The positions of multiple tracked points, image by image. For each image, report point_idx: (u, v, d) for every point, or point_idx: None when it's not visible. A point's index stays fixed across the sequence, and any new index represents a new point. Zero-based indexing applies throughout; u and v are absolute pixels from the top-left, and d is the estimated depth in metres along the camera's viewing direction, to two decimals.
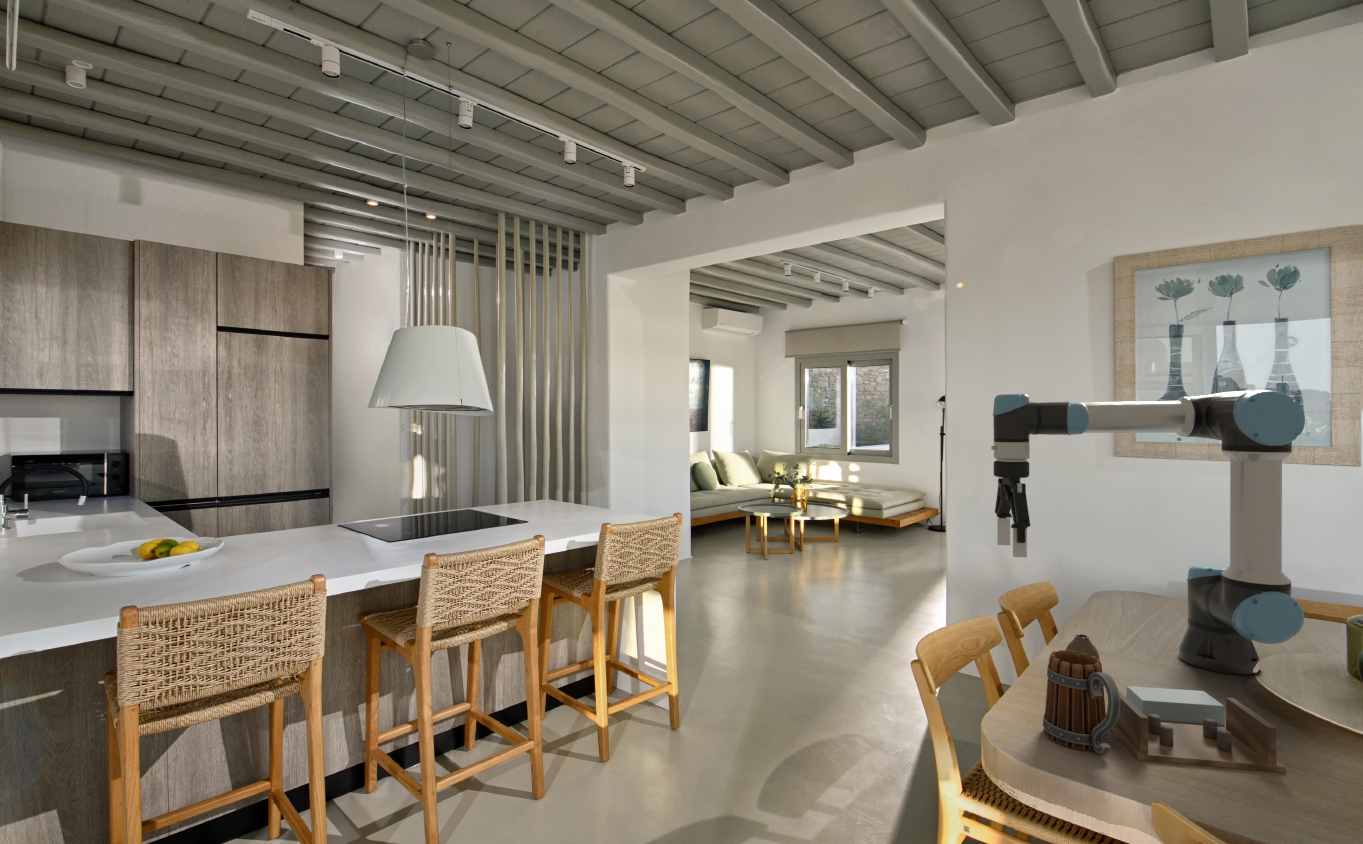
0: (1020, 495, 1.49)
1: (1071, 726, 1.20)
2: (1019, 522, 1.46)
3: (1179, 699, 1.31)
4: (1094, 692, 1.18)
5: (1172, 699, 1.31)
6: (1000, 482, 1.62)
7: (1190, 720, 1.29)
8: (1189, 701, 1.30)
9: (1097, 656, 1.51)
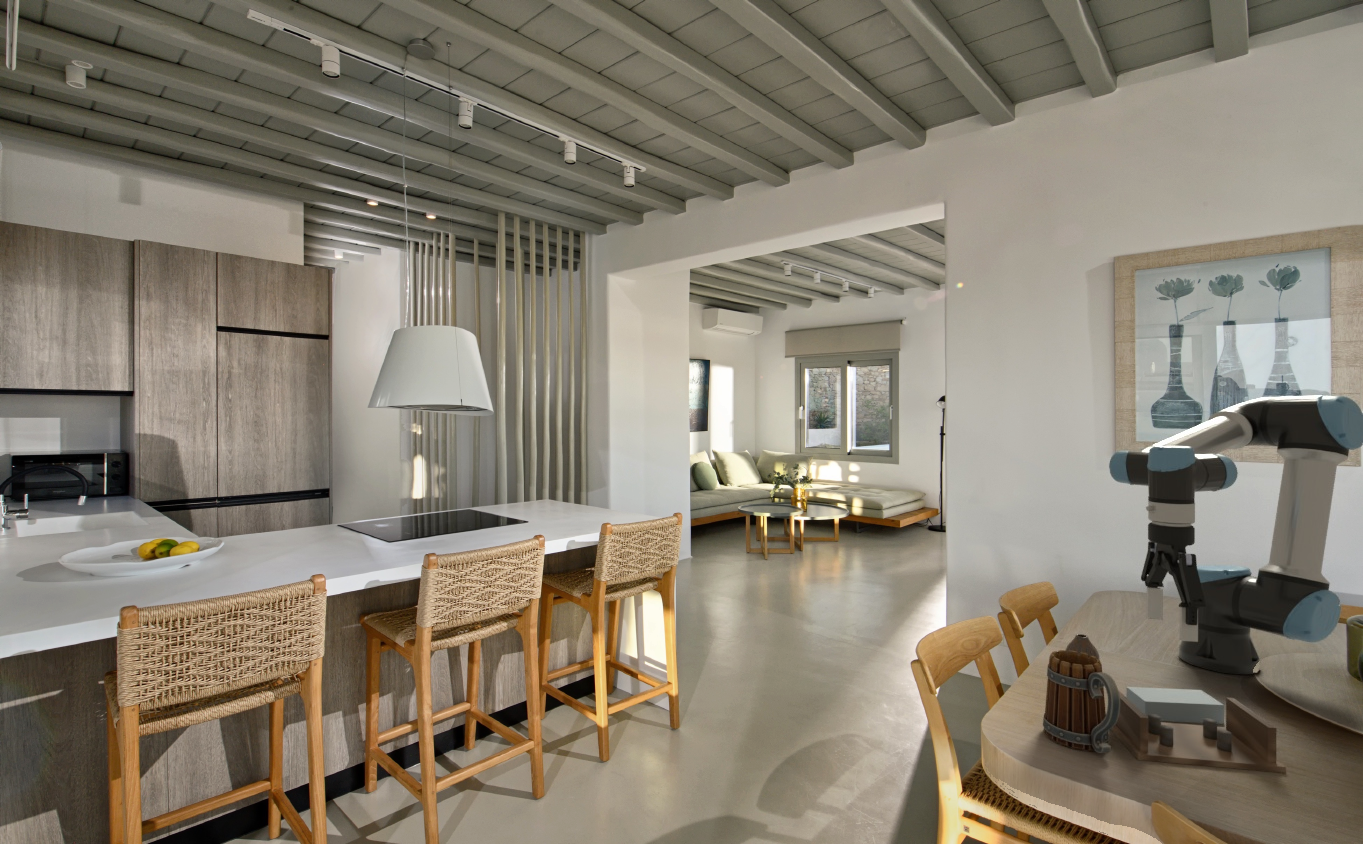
0: (1190, 568, 1.26)
1: (1071, 726, 1.20)
2: (1192, 602, 1.23)
3: (1179, 699, 1.31)
4: (1094, 692, 1.18)
5: (1173, 699, 1.31)
6: (1152, 546, 1.39)
7: (1191, 720, 1.29)
8: (1190, 700, 1.30)
9: (1097, 656, 1.51)
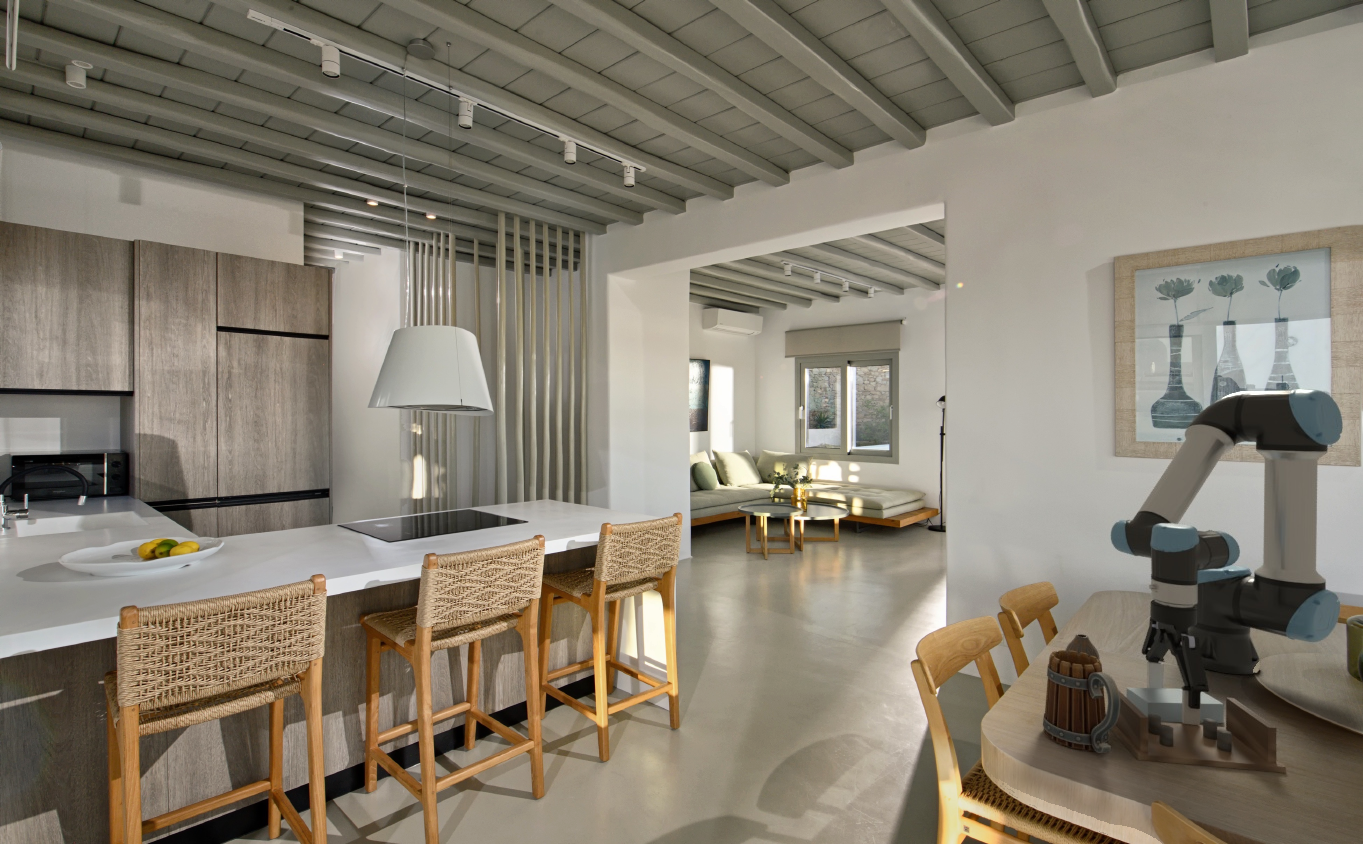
0: (1193, 651, 1.26)
1: (1071, 726, 1.20)
2: (1195, 686, 1.23)
3: (1180, 699, 1.31)
4: (1094, 692, 1.18)
5: (1174, 699, 1.31)
6: (1153, 622, 1.38)
7: None
8: None
9: (1097, 656, 1.51)
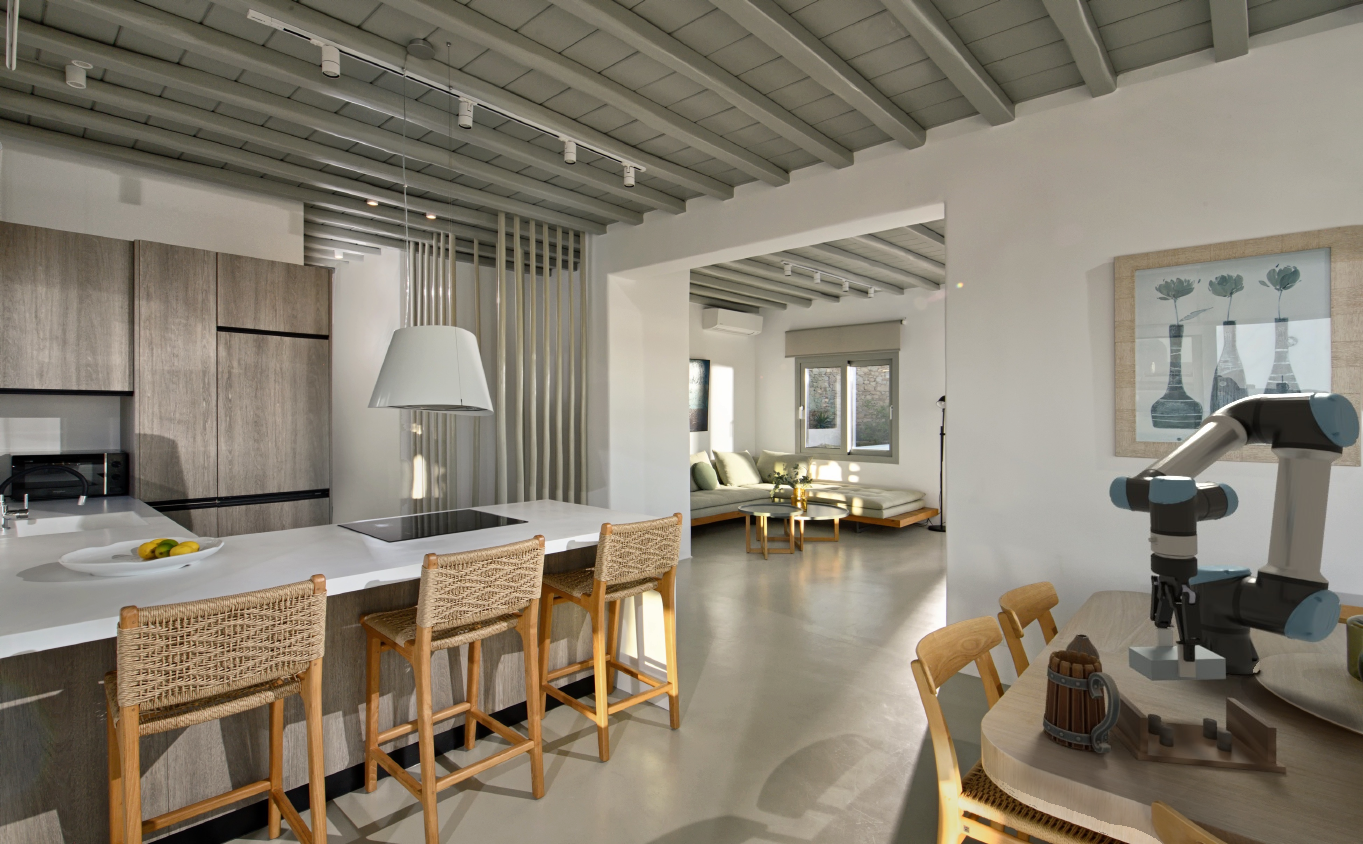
0: (1192, 607, 1.26)
1: (1071, 726, 1.20)
2: (1189, 640, 1.26)
3: None
4: (1094, 692, 1.17)
5: (1176, 656, 1.31)
6: (1155, 580, 1.38)
7: None
8: None
9: (1097, 656, 1.51)
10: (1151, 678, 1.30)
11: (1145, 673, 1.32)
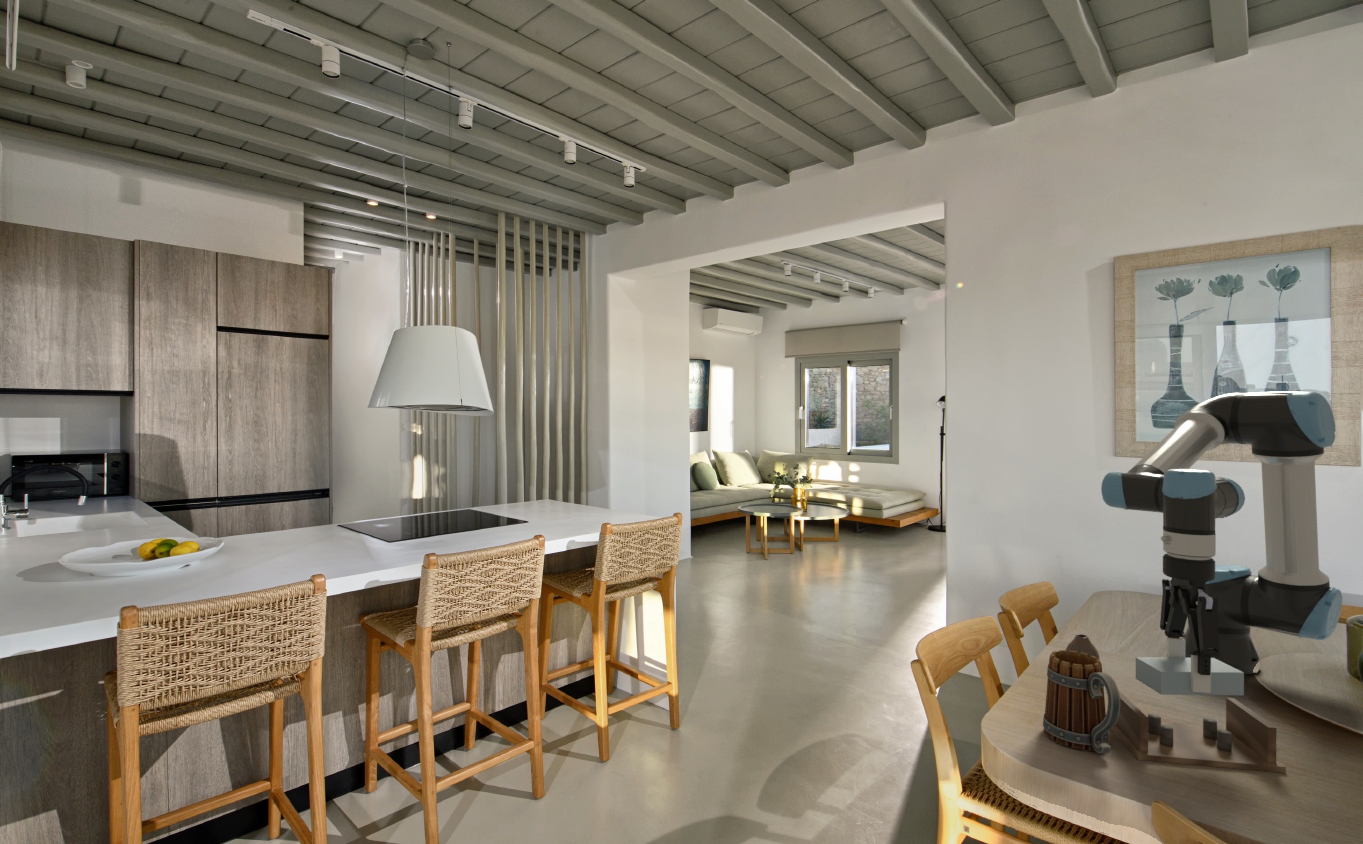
0: (1209, 613, 1.13)
1: (1071, 726, 1.20)
2: (1205, 650, 1.13)
3: None
4: (1094, 692, 1.18)
5: (1189, 668, 1.18)
6: (1166, 584, 1.25)
7: None
8: None
9: (1097, 656, 1.51)
10: (1160, 692, 1.17)
11: (1154, 686, 1.18)
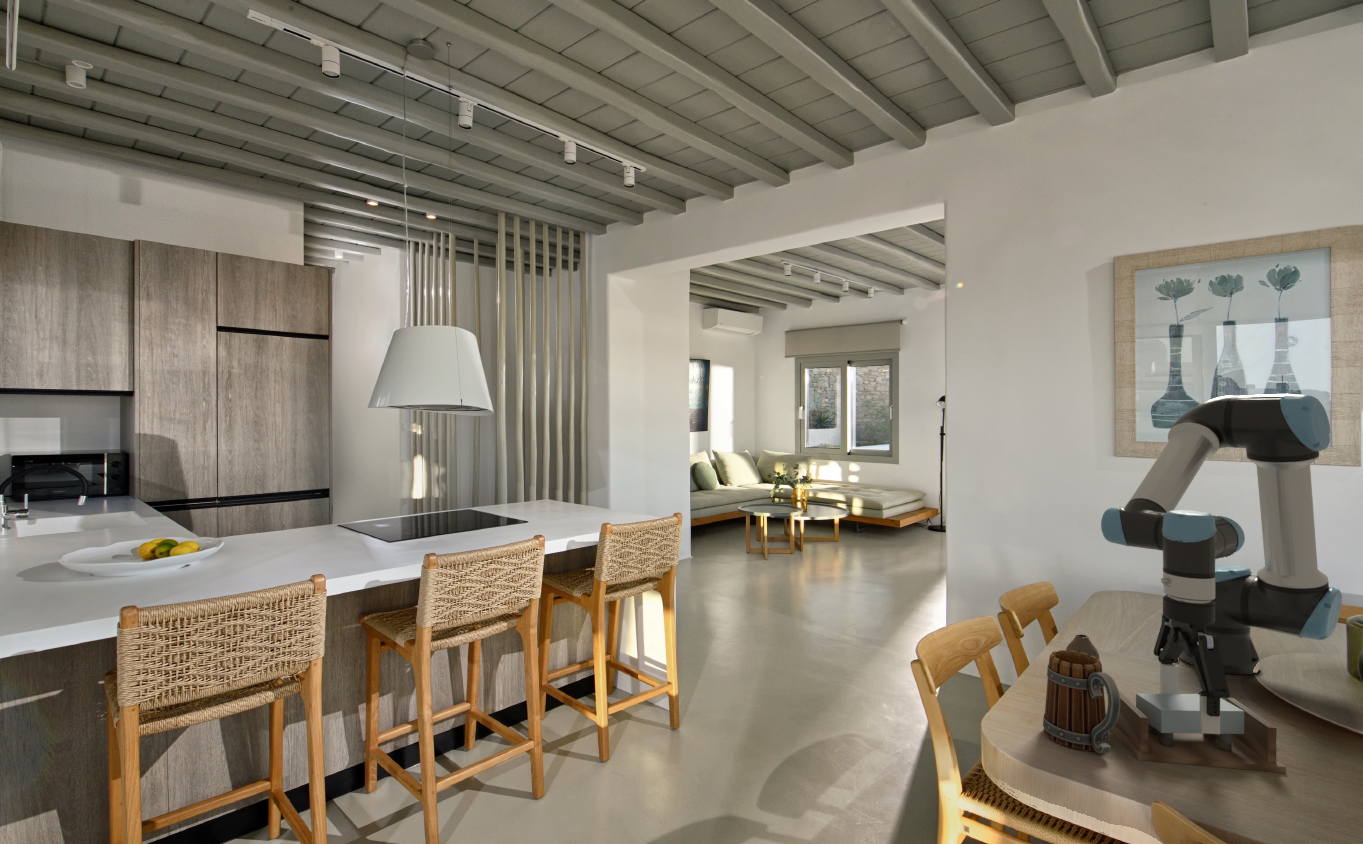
0: (1211, 652, 1.13)
1: (1071, 726, 1.20)
2: (1214, 692, 1.10)
3: (1196, 706, 1.18)
4: (1094, 692, 1.18)
5: (1189, 706, 1.18)
6: (1166, 620, 1.26)
7: None
8: None
9: (1097, 656, 1.51)
10: (1161, 730, 1.17)
11: (1154, 724, 1.19)
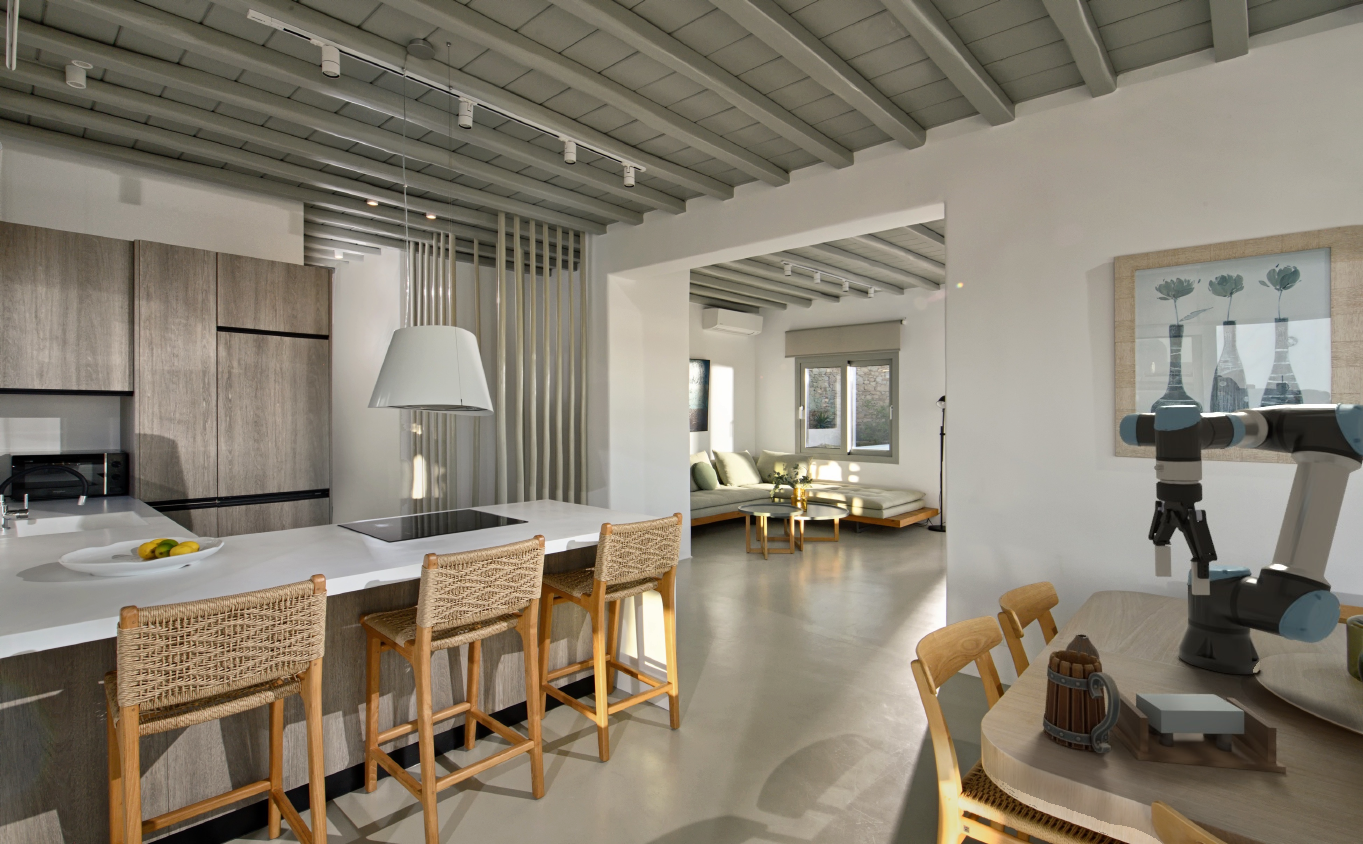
0: (1200, 523, 1.28)
1: (1071, 726, 1.20)
2: (1204, 556, 1.26)
3: (1196, 706, 1.18)
4: (1094, 692, 1.17)
5: (1189, 706, 1.18)
6: (1159, 505, 1.41)
7: (1210, 729, 1.16)
8: (1207, 707, 1.18)
9: (1097, 656, 1.51)
10: (1161, 730, 1.17)
11: (1154, 724, 1.19)
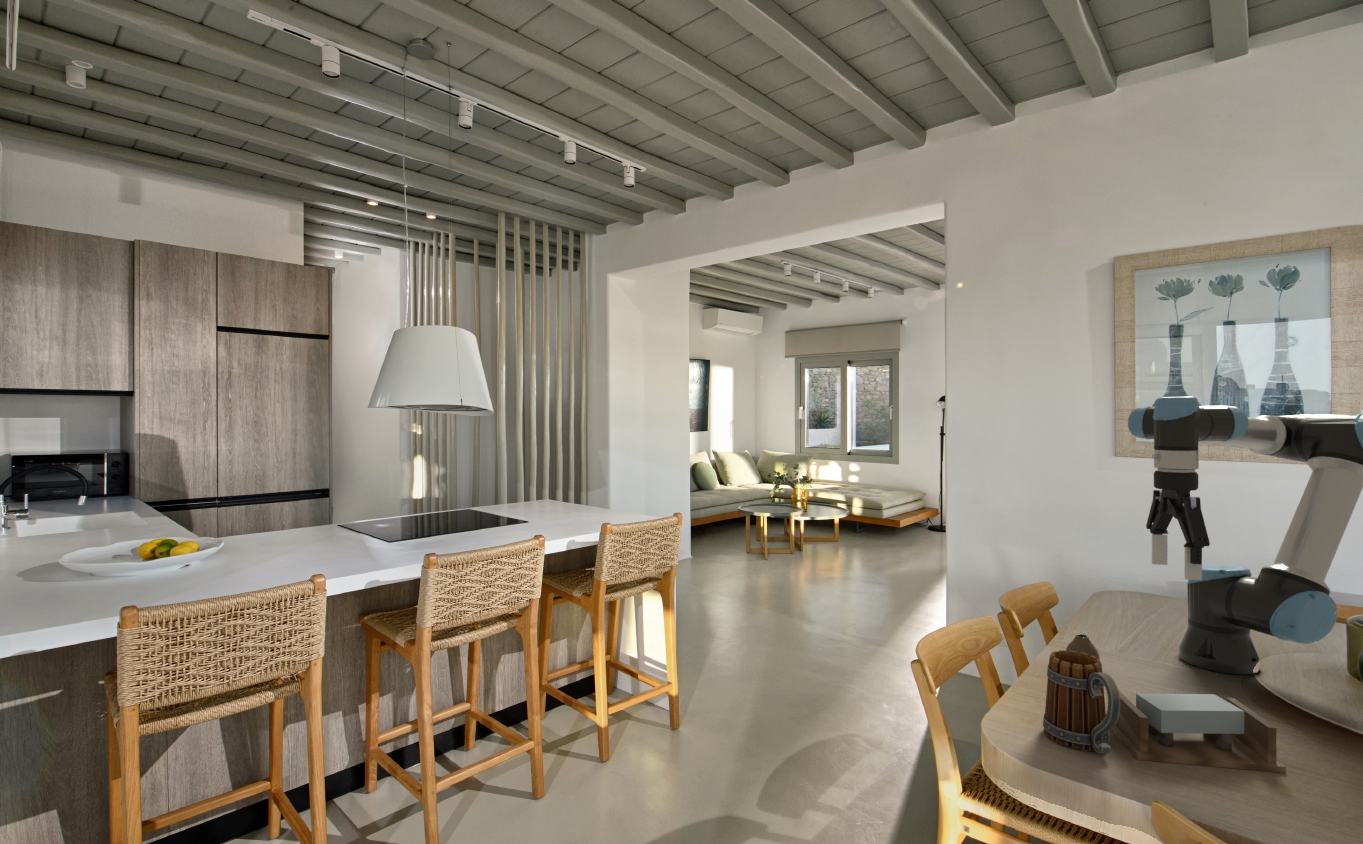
0: (1194, 510, 1.32)
1: (1071, 726, 1.20)
2: (1196, 541, 1.30)
3: (1196, 706, 1.18)
4: (1094, 692, 1.18)
5: (1189, 706, 1.18)
6: (1157, 494, 1.45)
7: (1210, 729, 1.16)
8: (1207, 707, 1.18)
9: (1097, 656, 1.51)
10: (1161, 730, 1.17)
11: (1154, 724, 1.19)
